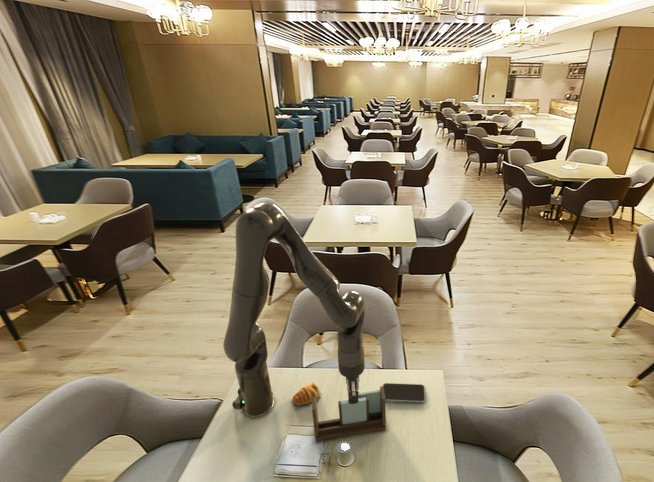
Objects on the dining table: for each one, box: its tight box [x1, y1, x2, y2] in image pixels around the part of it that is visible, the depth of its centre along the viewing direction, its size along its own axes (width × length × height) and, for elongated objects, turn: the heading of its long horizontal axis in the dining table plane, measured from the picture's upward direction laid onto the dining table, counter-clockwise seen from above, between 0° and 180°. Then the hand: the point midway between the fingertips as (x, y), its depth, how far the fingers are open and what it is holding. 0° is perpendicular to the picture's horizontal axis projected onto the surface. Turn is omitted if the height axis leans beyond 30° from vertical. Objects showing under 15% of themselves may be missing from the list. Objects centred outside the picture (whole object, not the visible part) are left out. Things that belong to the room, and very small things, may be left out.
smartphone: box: [382, 382, 426, 404], centre depth 126 cm, size 7×1×15 cm
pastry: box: [291, 382, 322, 407], centre depth 123 cm, size 9×7×4 cm
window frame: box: [311, 385, 387, 443], centre depth 110 cm, size 6×22×14 cm, turn 102°
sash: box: [337, 391, 369, 426], centre depth 110 cm, size 2×9×15 cm, turn 102°
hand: (353, 399), depth 108 cm, fingers closed on sash, 2 cm apart
